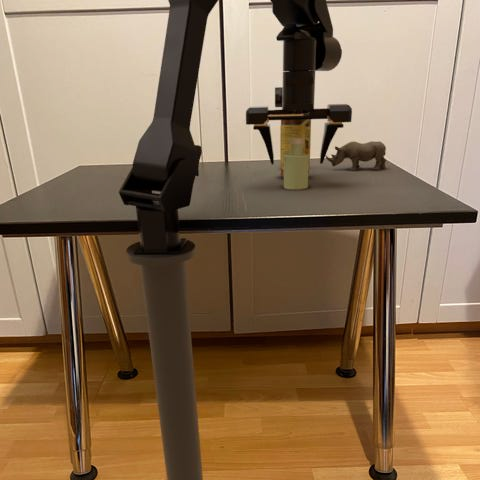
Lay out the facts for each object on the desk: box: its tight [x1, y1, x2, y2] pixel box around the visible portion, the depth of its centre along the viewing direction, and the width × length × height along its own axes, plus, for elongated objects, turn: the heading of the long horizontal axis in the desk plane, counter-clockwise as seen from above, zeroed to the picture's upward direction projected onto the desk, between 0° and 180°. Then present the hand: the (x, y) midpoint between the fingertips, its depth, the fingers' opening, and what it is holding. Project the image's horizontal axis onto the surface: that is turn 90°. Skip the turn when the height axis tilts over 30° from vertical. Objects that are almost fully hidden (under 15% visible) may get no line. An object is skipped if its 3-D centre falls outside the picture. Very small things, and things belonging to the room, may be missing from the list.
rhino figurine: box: [325, 140, 387, 171], centre depth 108 cm, size 4×14×6 cm, turn 84°
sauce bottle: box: [279, 119, 312, 179], centre depth 98 cm, size 7×6×20 cm
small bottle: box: [283, 137, 309, 191], centre depth 91 cm, size 5×5×9 cm
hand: (296, 163), depth 91 cm, fingers open, 9 cm apart
